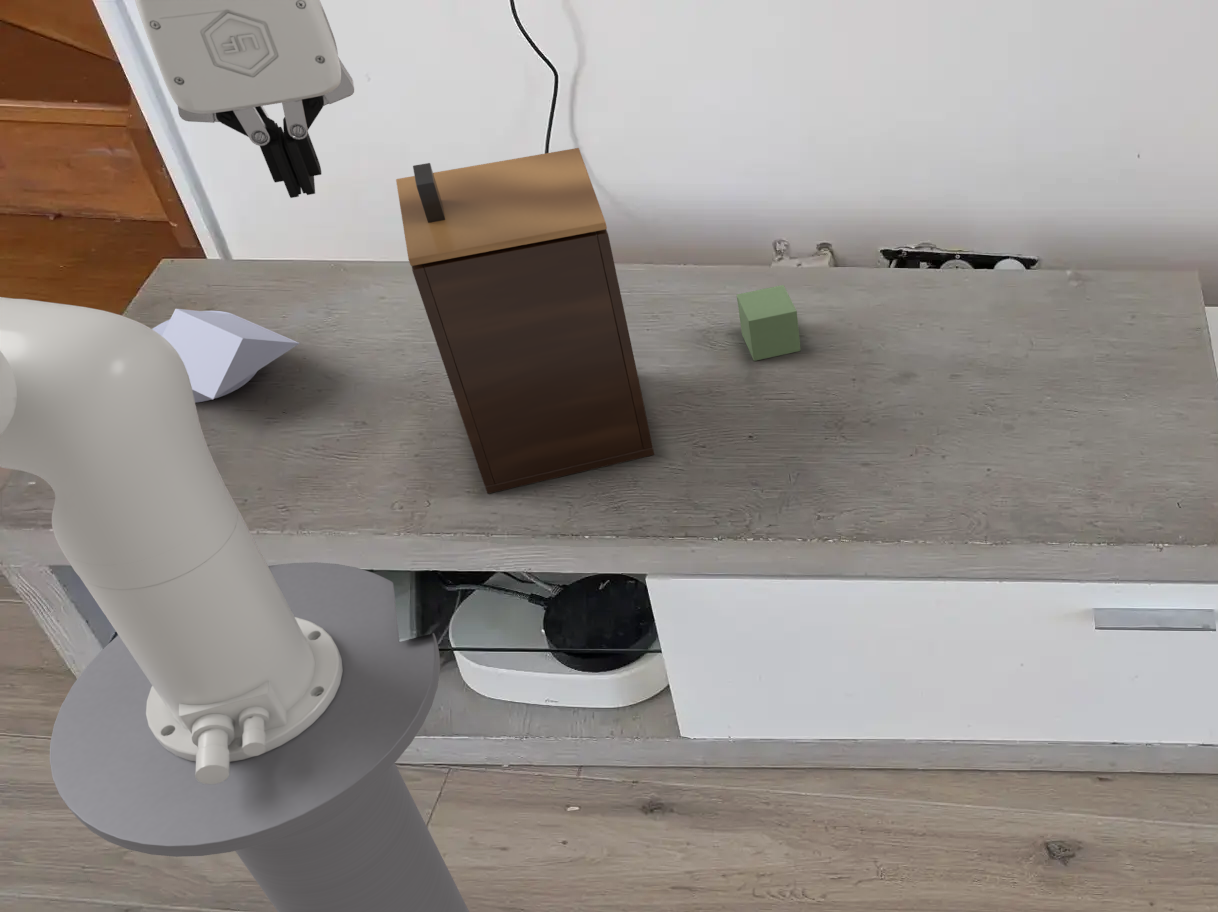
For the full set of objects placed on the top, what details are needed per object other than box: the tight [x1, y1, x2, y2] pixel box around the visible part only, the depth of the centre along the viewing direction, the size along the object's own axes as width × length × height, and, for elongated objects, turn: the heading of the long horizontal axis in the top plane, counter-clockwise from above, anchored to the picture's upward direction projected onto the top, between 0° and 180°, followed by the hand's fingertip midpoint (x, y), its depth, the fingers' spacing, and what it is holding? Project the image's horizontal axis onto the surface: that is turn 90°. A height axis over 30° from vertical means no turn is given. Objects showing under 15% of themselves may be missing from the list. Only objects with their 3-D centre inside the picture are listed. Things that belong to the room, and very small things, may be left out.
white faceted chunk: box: [151, 308, 300, 404], centre depth 115 cm, size 9×7×13 cm
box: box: [411, 228, 655, 494], centre depth 105 cm, size 12×14×21 cm
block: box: [736, 284, 801, 362], centre depth 120 cm, size 4×4×4 cm
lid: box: [395, 147, 608, 267], centre depth 96 cm, size 12×14×4 cm
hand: (302, 186), depth 92 cm, fingers closed
